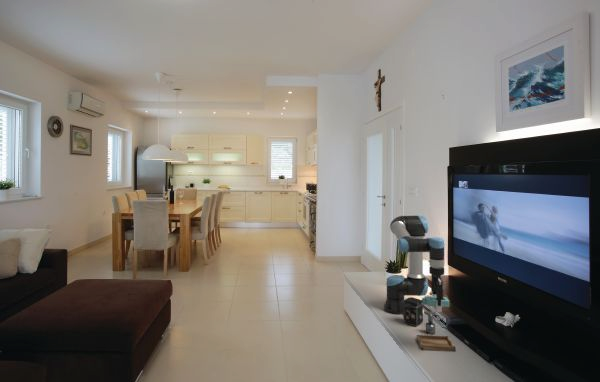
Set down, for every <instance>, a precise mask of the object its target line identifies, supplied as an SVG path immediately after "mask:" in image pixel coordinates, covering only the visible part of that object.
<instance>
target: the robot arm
mask: <svg viewBox="0 0 600 382" xmlns="http://www.w3.org/2000/svg"><path fill="white" fill-rule="evenodd" d="M428 224H429V223H428V221H427V218H426V217H425V216H424V215H400V216H399V215H398V216H396V217H394V219H392V220H391V222H390V226H389V228H390V231H391V233H392V234H394V235H395V237H396V239H397V250H398V252H400V253H409V254H408V255H409V257H408V258H409V268H408V269H409V271H408V274H406V277H405V276H404V275H402V274H393V275H389V276H388V277H387V278H386V300H385V302H384V305H383V310H384V312H387V313H388V314H393V315H403V312H402V310H404V300H405V296H407V297H408V296H409V297H411V296H413V297H414V296H417V297H421V296H423V297H425V296H427V293H428V290H429V279H428V278H427V277H426V276H425V274H424V271H423V270H424V269H423V268H424V267H423V266H424V264H423V262H424V260H423V259H424V258H423V257H424V256H423V254H424V253H428V255H429V260H428V263H429V266H428V267H429V274H430V275H431V284H430V285H431V288H430V289H431V291H430V292H431V294H432V296H431V297H437V299H435V300H436V307H434V306H432V308H433V307H434V308H435V313H442V311H443V307H442V300H443V297H444V293H443V292H444V291H443V290H444V289H443V285H444V284H443V283H444V281H443V280H442V276H444V275H445V245H446V244H445V240H444V238H442V237H437V236H436V237H435V236H434V237H426V234H428V232H429V226H428ZM425 237H426V238H425Z"/></svg>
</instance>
